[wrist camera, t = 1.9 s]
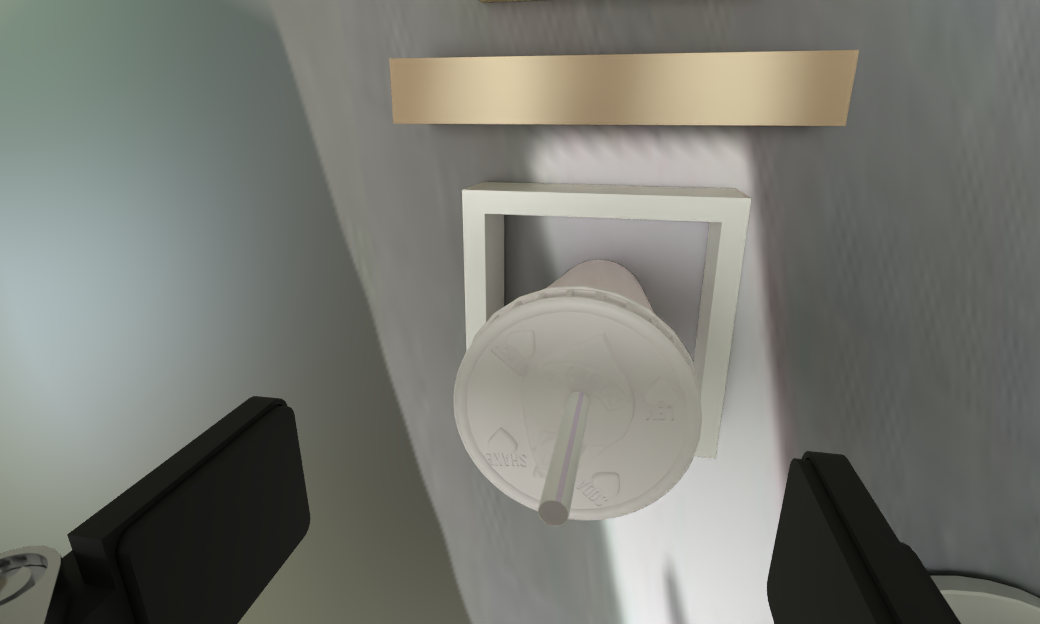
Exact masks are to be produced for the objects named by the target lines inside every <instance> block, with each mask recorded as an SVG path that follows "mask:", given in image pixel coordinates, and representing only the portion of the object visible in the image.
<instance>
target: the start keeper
mask: <svg viewBox="0 0 1040 624" xmlns="http://www.w3.org/2000/svg"><path fill="white" fill-rule="evenodd" d="M462 201H463V238H464V275H465V312H466V349H467V350H468V348H469V347H470V345H471V343H472V341H473V339H474V337H475V335H476V333H477V332H478V331H479V330H480V329H481V328H482V327H483V325H484V324H485V323H486V322H487V321H488V320H489V319H490V317H491V316H492V315H493V314H494V313H495V312H497V311H498V310H500V309H501V308H503V307H504V214H509V215H536V216H563V217H589V218H616V219H643V220H670V221H697V222H710V223H709V232H708V241H707V249H706V258H705V267H704V275H703V284H702V293H701V302H700V310H699V319H698V328H697V336H696V345H695V354H694V362H693V364H694V367H695V371H696V374H697V377H698V380H699V384H700V387H701V406H702V429H701V435H700V440H699V444H698V447H697V450H696V453H695V455H694V456H698V457H707V458H715V459H716V452H717V445H718V438H719V430H720V423H721V416H722V409H723V401H724V394H725V387H726V379H727V372H728V365H729V358H730V350H731V343H732V336H733V328H734V321H735V314H736V307H737V299H738V292H739V285H740V277H741V270H742V263H743V256H744V248H745V241H746V234H747V226H748V219H749V212H750V205H751V198H750V197H749V196H747V195H745V194H744V193H742V192H741V191H739V190H738V189H736V188H697V187H659V186H620V185H582V184H544V183H505V182H483V183H480V184H477V185H475V186H472V187H469V188H466V189H463V190H462Z"/></svg>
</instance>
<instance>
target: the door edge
mask: <svg viewBox="0 0 1040 624" xmlns="http://www.w3.org/2000/svg"><path fill="white" fill-rule="evenodd" d="M858 55H859V50H833V51H779V52H725V53H670V54H616V55H562V56H508V57H453V58H399V59H389V60H390V76H391V92H392V108H393V123H402V124H548V125H731V126H846V120H847V115H848V109H849V104H850V98H851V93H852V87H853V82H854V76H855V71H856V66H857V60H858Z"/></svg>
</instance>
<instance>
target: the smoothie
mask: <svg viewBox="0 0 1040 624" xmlns="http://www.w3.org/2000/svg"><path fill="white" fill-rule="evenodd" d="M454 414H455V419H456V424H457V428H458V431H459V434H460V437H461V439H462V442H463V444H464V446H465V448H466V450H467V452H468V454H469V456H470V457H471V459H472V460H473V462H474V463H475V465H476V466H477V467H478V468H479V470H480V471H481V472H482V473H483V474H484V475H485V476H486V478H487V479H488V480H489V481H490V482H491V483H493V484H494V485H495V486H496V487H497V488H498V489H500V490H501V491H502V492H504V493H505V494H506V495H508V496H509V497H511V498H512V499H514V500H515V501H517V502H519V503H521V504H523V505H525V506H527V507H529V508H531V509H534V510H536V511H538V515H539V517H540V519H541V520H542V521H543V522H544V523H546V524H547V525H550V526H561V525H563V524H565V523H566V522H567V520H568V519H574V520H602V519H609V518H615V517H619V516H623V515H626V514H629V513H632V512H635V511H637V510H640V509H642V508H644V507H646V506H648V505H650V504H651V503H653V502H655V501H656V500H658V499H659V498H661V497H662V496H663V495H665V494H666V493H667V492H668V491H669V490H670V489H671V488H673V486H674V485H675V484H676V483H677V482H678V481H679V480H680V479H681V477H682V476H683V475H684V473H685V472H686V471H687V469H688V467H689V465H690V464H691V462H692V460H693V457H694V455H695V453H696V450H697V447H698V444H699V440H700V435H701V429H702V406H701V387H700V384H699V380H698V377H697V374H696V371H695V367H694V364H693V361H692V358H691V356H690V355H689V353H688V352H687V350H686V349H685V347H684V346H683V344H682V343H681V341H680V339H679V338H678V336H677V335H676V333H675V332H674V330H672V329H671V328H670V327H669V326H668V325H667V324H666V323H664V322H663V321H662V320H661V319H660V318H659V317H658V316H656V315H655V313H654V311H653V309H652V307H651V305H650V303H649V301H648V299H647V297H646V295H645V293H644V291H643V290H642V288H641V286H640V284H639V282H638V280H637V279H636V278H635V276H634V275H633V274H632V273H631V272H630V271H629V270H627V269H626V268H625V267H623V266H621V265H619V264H617V263H614V262H611V261H607V260H591V261H586V262H583V263H580V264H578V265H576V266H575V267H573V268H572V269H570V270H569V271H568V272H566V273H565V274H564V275H562V276H561V277H560V278H559V279H557V280H556V281H555V282H553V283H552V284H551V285H549V286H548V287H547V288H545V289H543V290H540V291H536V292H533V293H530V294H527V295H523V296H520V297H519V298H517V299H515V300H514V301H512V302H511V303H509V304H508V305H506V306H505V307H503V308H501V309H500V310H498V311H497V312H495V313H494V314H493V315H492V316H491V317H490V319H489V320H488V321H487V322H486V323H485V324H484V325H483V327H482V328H481V329H480V330H479V331H478V332H477V333H476V335H475V337H474V339H473V341H472V343H471V345H470V347H469V348H468V350H467V352H466V353H465V355H464V357H463V359H462V361H461V364H460V367H459V369H458V372H457V376H456V381H455V387H454Z"/></svg>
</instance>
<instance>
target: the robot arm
mask: <svg viewBox="0 0 1040 624" xmlns="http://www.w3.org/2000/svg"><path fill="white" fill-rule="evenodd" d="M309 524H310V512H309V505H308V499H307V494H306V486H305V480H304V473H303V468H302V460H301V454H300V448H299V441H298V435H297V428H296V422H295V415H294V411H293V410H292V408H290V407H288V406H287V404H286V402H285V401H284V400H283V399H279V398H269V397H258V396H253V397H251V398H249V399H248V400H247V401H245V402H244V403H242V404H241V405H240V406H238V407H237V408H236V409H234V410H233V411H232V412H231V413H229V414H228V415H226V416H225V417H224V418H222V419H221V420H220V421H218V422H217V423H216V424H215V425H213V426H212V427H210V428H209V429H208V430H206V431H205V432H204V433H202V434H201V435H200V436H198V437H197V438H196V439H194V440H193V441H192V442H190V443H189V444H188V445H186V446H185V447H184V448H182V449H181V450H180V451H178V452H177V453H176V454H174V455H173V456H172V457H170V458H169V459H168V460H166V461H165V462H164V463H162V464H161V465H160V466H159V467H157V468H156V469H154V470H153V471H152V472H150V473H149V474H148V475H146V476H145V477H144V478H142V479H141V480H140V481H138V482H137V483H136V484H134V485H133V486H132V487H130V488H129V489H128V490H126V491H125V492H124V493H122V494H121V495H120V496H118V497H117V498H116V499H114V500H113V501H112V502H110V503H109V504H108V505H106V506H105V507H104V508H102V509H101V510H100V511H98V512H97V513H96V514H94V515H93V516H91V517H90V518H89V519H87V520H86V521H85V522H83V523H82V524H81V525H79V526H78V527H77V528H75V529H74V530H73V531H71V532H70V533H69V534H68V538H69V541H70V544H71V547H72V551H71V552H69V553H68V554H67V555H66V556H64V557H63V558H61V555H60V554H59V553H58V552H57V551H56V550H55V549H54V548H50V547H47V546H27V547H22V548H18V549H13V550H9V551H6V552H3V553H0V624H237V623H238V622H239V621H240V620H241V618H242V617H243V616H244V614H245V613H246V612H247V611H248V609H249V608H250V607H251V605H252V604H253V603H254V601H255V600H256V599H257V597H258V596H259V595H260V594H261V592H262V591H263V590H264V588H265V587H266V586H267V585H268V583H269V582H270V580H271V579H272V578H273V577H274V575H275V574H276V573H277V571H278V570H279V569H280V568H281V566H282V565H283V564H284V562H285V561H286V560H287V559H288V557H289V556H290V555H291V553H292V552H293V551H294V549H295V548H296V547H297V545H298V544H299V543H300V541H301V540H302V539H303V538H304V536H305V535H306V533H307V531H308V528H309ZM767 595H768V602H769V606H770V610H771V613H772V617H773V620H774V624H1040V598H1038V597H1036V596H1034V595H1032V594H1029V593H1027V592H1025V591H1023V590H1021V589H1017V588H1014V587H1010V586H1007V585H1004V584H1000V583H997V582H993V581H990V580H983V579H976V578H969V577H962V576H930V575H929V573H928V572H927V570H926V569H925V567H924V566H923V564H922V563H921V561H920V559H919V558H918V556H917V555H916V553H915V552H914V551H913V550H912V549H911V548H910V546H908V545H906V544H904V543H902V542H899V540H898V538H897V537H896V535H895V534H894V532H893V530H892V529H891V527H890V526H889V524H888V523H887V521H886V519H885V518H884V516H883V515H882V513H881V511H880V510H879V508H878V507H877V505H876V503H875V502H874V500H873V499H872V497H871V496H870V494H869V492H868V491H867V489H866V488H865V486H864V484H863V483H862V481H861V480H860V478H859V476H858V475H857V473H856V472H855V470H854V469H853V467H852V465H851V464H850V462H849V461H848V459H847V458H846V457H845V456H844V455H841V454H831V453H821V452H811V451H807V452H805V453H804V455H803V457H802V459H795V458H794V459H793V460H792V461H791V464H790V468H789V473H788V478H787V483H786V489H785V494H784V499H783V504H782V509H781V514H780V519H779V524H778V529H777V534H776V539H775V544H774V550H773V555H772V560H771V565H770V570H769V575H768V581H767Z"/></svg>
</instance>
